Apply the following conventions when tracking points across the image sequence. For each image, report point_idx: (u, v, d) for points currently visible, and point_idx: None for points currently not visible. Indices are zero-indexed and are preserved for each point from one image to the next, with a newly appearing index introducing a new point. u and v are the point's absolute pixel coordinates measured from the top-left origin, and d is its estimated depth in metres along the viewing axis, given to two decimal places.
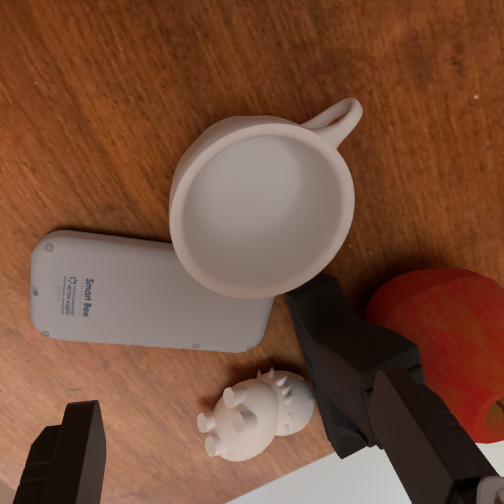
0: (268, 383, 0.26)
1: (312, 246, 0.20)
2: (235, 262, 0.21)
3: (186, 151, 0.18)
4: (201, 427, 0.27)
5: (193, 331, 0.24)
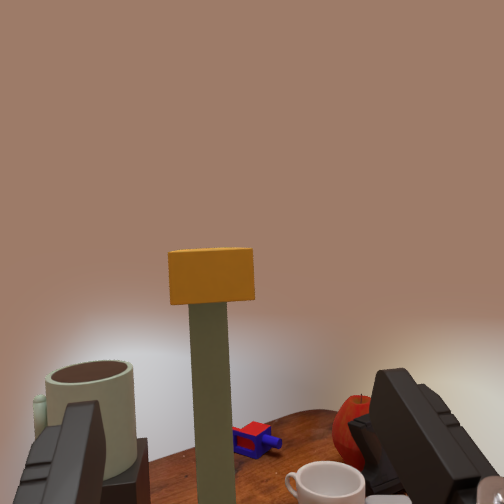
0: None
1: (338, 473, 0.51)
2: None
3: None
4: None
5: None
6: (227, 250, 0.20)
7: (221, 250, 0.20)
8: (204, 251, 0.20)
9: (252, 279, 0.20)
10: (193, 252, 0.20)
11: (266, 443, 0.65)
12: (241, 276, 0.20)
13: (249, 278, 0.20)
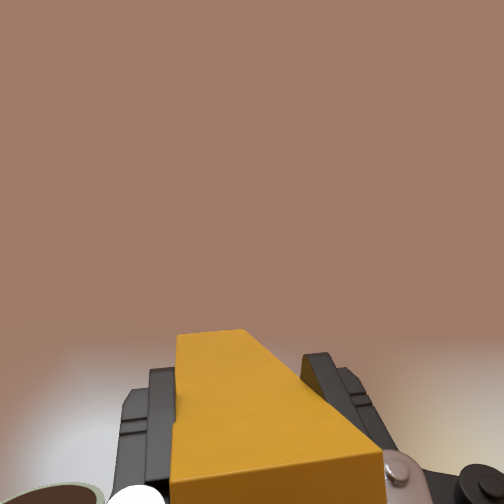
0: None
1: None
2: None
3: None
4: None
5: None
6: (323, 462, 0.08)
7: (307, 463, 0.08)
8: (265, 470, 0.08)
9: None
10: (237, 477, 0.08)
11: None
12: None
13: None
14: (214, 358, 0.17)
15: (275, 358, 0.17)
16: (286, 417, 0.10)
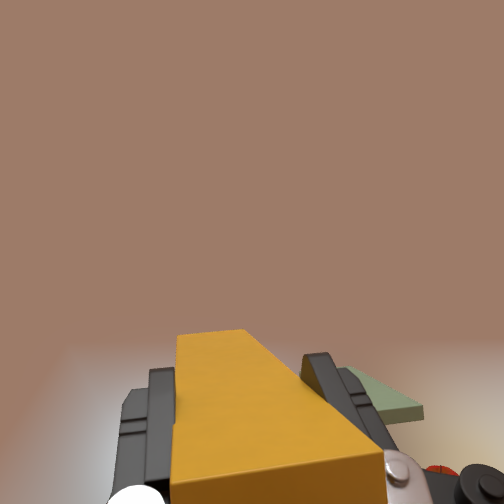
0: None
1: None
2: None
3: None
4: None
5: None
6: (324, 463, 0.08)
7: (308, 464, 0.08)
8: (265, 471, 0.08)
9: None
10: (237, 478, 0.08)
11: None
12: None
13: None
14: (214, 358, 0.17)
15: (275, 358, 0.17)
16: (287, 418, 0.10)
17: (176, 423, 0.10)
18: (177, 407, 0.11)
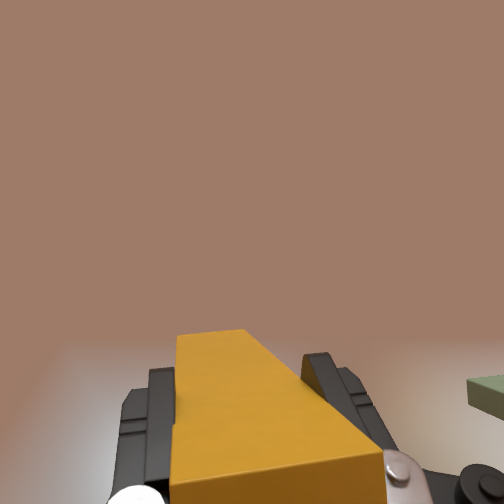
0: None
1: None
2: None
3: None
4: None
5: None
6: (323, 463, 0.08)
7: (308, 464, 0.08)
8: (265, 471, 0.08)
9: None
10: (237, 478, 0.08)
11: None
12: None
13: None
14: (214, 359, 0.17)
15: (275, 358, 0.17)
16: (287, 417, 0.10)
17: (176, 423, 0.10)
18: (177, 407, 0.11)
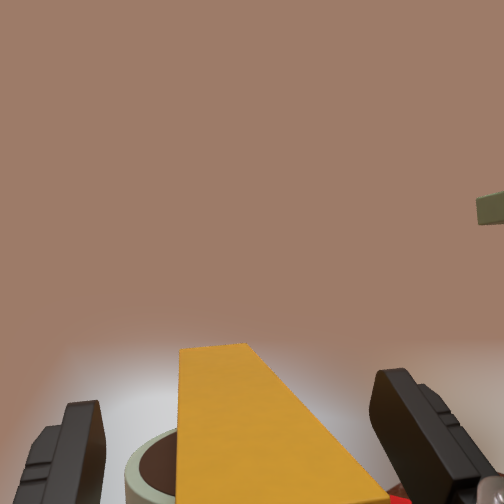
0: None
1: None
2: None
3: None
4: None
5: None
6: None
7: None
8: None
9: None
10: None
11: None
12: None
13: None
14: (217, 379, 0.17)
15: (279, 380, 0.17)
16: (291, 453, 0.10)
17: (180, 457, 0.10)
18: (181, 437, 0.11)
